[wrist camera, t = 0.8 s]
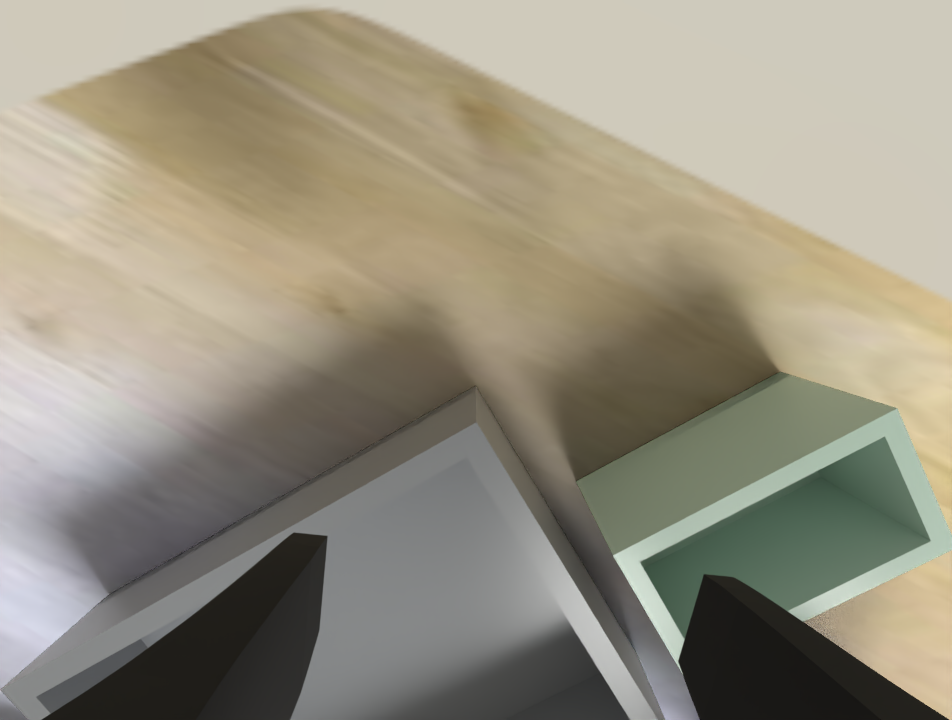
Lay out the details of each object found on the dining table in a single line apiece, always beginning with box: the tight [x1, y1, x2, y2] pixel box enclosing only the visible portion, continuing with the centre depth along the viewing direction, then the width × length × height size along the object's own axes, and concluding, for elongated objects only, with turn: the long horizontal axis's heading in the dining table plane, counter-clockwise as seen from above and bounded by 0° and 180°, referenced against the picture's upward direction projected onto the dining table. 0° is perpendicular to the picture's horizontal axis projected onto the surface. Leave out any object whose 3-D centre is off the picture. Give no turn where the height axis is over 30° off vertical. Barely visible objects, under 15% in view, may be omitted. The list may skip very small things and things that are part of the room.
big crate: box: [1, 386, 665, 720], centre depth 18 cm, size 14×18×4 cm
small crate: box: [576, 372, 952, 674], centre depth 16 cm, size 5×9×5 cm, turn 120°
